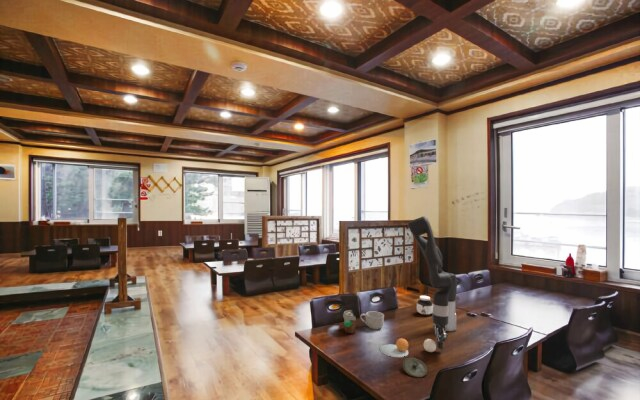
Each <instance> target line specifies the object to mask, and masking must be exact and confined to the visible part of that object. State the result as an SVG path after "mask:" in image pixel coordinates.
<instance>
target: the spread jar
mask: <svg viewBox="0 0 640 400" xmlns="http://www.w3.org/2000/svg"><path fill="white" fill-rule="evenodd" d="M416 312H417V313H418V314H419V315H421V316H423V315H424V317H429V316H431V315H432V313H433V301H431V297H430V296H427V295H420V296H419V299H418V300H417V302H416Z"/></svg>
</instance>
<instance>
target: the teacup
mask: <svg viewBox="0 0 640 400" xmlns="http://www.w3.org/2000/svg"><path fill="white" fill-rule="evenodd" d="M359 317H360V320H361V321H362V323H364V324H365V325H366V326H367V327H368V328H370V329H372V330H379V329H381V328H382V327H383V326H384V322H385V321H384V320H385V314H384V313H383V312H379V311H374V310H370V311H367V312H366V313H361V314H360V316H359ZM363 317H364V318H365V319H363Z"/></svg>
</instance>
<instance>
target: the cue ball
mask: <svg viewBox="0 0 640 400" xmlns="http://www.w3.org/2000/svg"><path fill="white" fill-rule="evenodd" d="M423 347H424V350H425V351H426V352H428V353H433V352H435V351H436V349H437V342H435V340H433V339H431V338H426V339H425V340H424V341H423Z"/></svg>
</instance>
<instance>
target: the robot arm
mask: <svg viewBox="0 0 640 400" xmlns="http://www.w3.org/2000/svg"><path fill="white" fill-rule="evenodd" d="M408 229H409V231H410V232H411V234H412V236H413V238H414V239H415V241H416V242H417V244H418V246H419V248H420V250H421V252H422V254H423V256H424V258H425V260H426V264H427V266H428V273H429V274H428V275H429V276H428V277H429V282H430V284H431V286H432V287H433V288H436V289H439V290H437V291H435V292H434V293H433V295H432V296H433V298H432V299H433V300H432V304H433V313H432V314H431V315H432V320H431V321H432V323H434V324H433V326H432V327H433V332H434V337H435V338H436V341H437V342H436V348H438V350H442V349H443V347H444V344H443V343H444V342H446V341H447V338H448V337H449V335H448V334H449V333H446V332H454V331H457V316H458V315H457V313H456V297H457V293H458V292H457V289H458V288H457V286H458V277H457V275H456V274H454V273H452V272H445V271H444V270H443V269H442V268H443V267H444V266H443V254H442V253H441V250H440V248H439V246H437V244H436V240H435V236H434V233H433V229H432V226H431V223H430V221H429V219H428V218H427V216H420V217H417V218H415V219H413V220H410V221H409V222H408ZM425 234H426V236H427V237H426V238H427V239H425V238H424V237H423V236H422V235H425Z"/></svg>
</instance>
